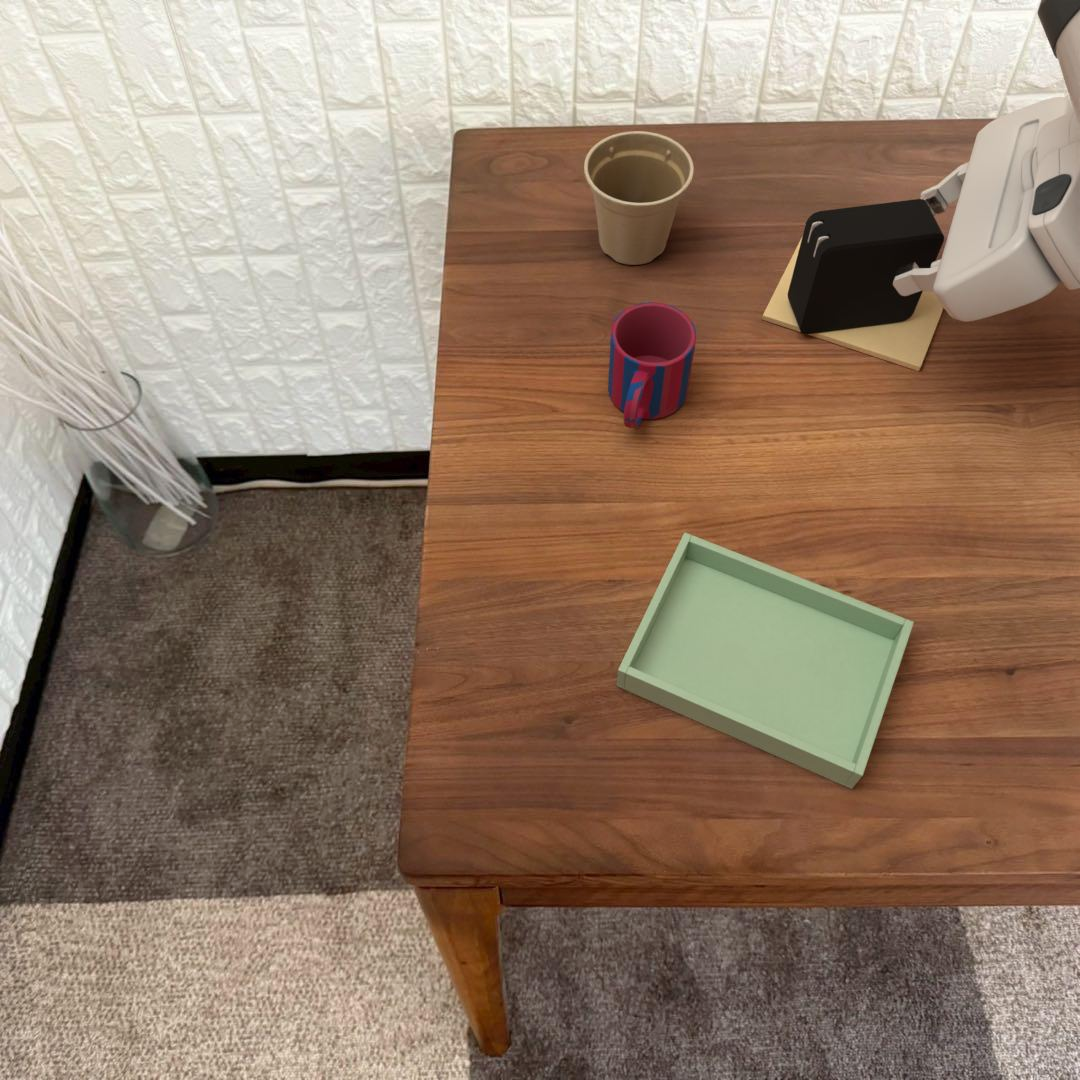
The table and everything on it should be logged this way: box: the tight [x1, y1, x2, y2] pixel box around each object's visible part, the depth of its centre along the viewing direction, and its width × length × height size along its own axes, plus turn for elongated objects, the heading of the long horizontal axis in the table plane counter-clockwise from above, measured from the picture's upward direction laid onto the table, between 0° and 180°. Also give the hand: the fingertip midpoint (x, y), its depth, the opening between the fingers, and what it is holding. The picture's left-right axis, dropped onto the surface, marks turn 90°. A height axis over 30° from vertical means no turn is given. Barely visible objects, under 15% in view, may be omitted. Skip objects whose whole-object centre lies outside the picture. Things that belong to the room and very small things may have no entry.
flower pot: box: [583, 130, 695, 266], centre depth 90 cm, size 9×9×9 cm
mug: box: [607, 301, 697, 429], centre depth 82 cm, size 7×10×7 cm
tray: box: [615, 532, 915, 790], centre depth 71 cm, size 17×12×3 cm
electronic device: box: [788, 198, 945, 335], centre depth 84 cm, size 4×10×10 cm, turn 98°
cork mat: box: [761, 235, 944, 372], centre depth 90 cm, size 14×12×1 cm
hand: (910, 243), depth 82 cm, fingers open, 8 cm apart
